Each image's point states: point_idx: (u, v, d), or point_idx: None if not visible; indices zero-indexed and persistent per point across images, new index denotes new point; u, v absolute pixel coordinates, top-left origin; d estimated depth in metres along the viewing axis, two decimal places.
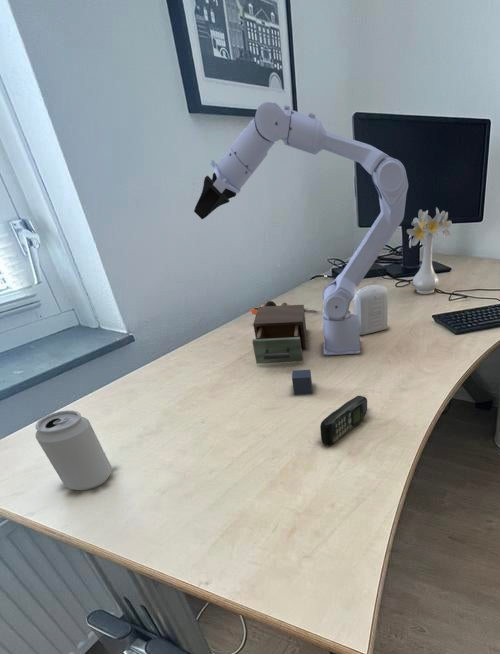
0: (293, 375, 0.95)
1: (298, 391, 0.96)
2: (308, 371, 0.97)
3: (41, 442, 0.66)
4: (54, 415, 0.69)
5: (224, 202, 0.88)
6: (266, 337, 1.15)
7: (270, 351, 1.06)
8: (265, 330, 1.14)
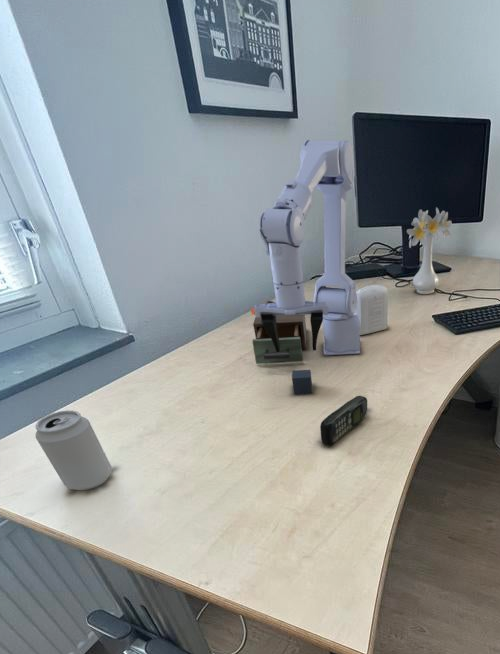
0: (293, 375, 0.95)
1: (298, 391, 0.96)
2: (308, 371, 0.97)
3: (41, 442, 0.66)
4: (54, 415, 0.69)
5: None
6: (266, 337, 1.15)
7: (270, 351, 1.06)
8: (265, 330, 1.14)
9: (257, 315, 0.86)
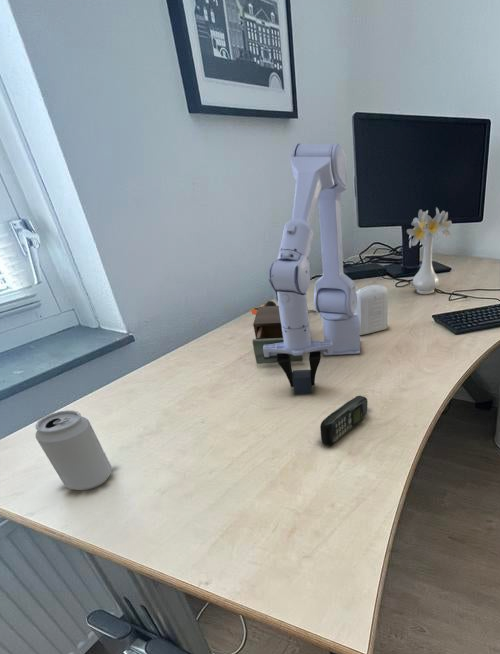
0: (293, 375, 0.95)
1: (298, 391, 0.96)
2: (308, 371, 0.97)
3: (41, 442, 0.66)
4: (54, 415, 0.69)
5: None
6: (266, 337, 1.15)
7: None
8: (265, 330, 1.14)
9: (266, 355, 0.91)
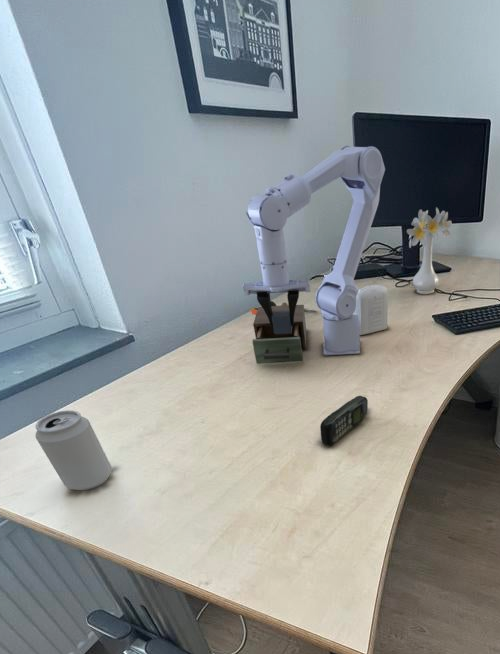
0: (272, 315, 0.99)
1: (278, 330, 1.00)
2: (288, 311, 1.01)
3: (41, 442, 0.66)
4: (54, 415, 0.69)
5: None
6: (266, 337, 1.15)
7: (270, 351, 1.06)
8: (265, 330, 1.14)
9: (246, 293, 0.95)
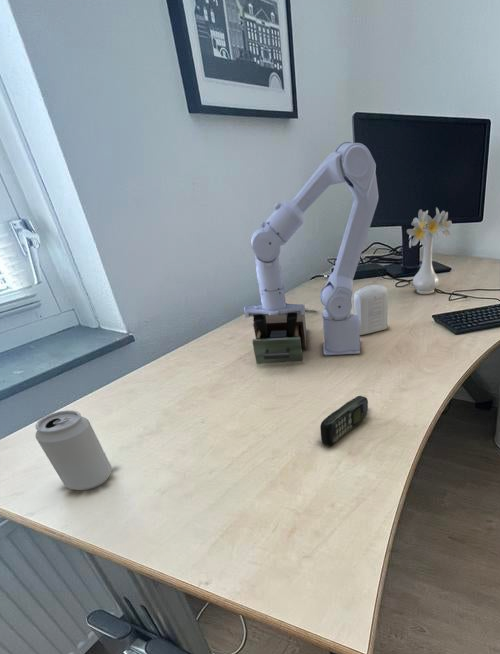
0: (270, 335, 1.08)
1: None
2: (284, 331, 1.10)
3: (41, 442, 0.66)
4: (54, 415, 0.69)
5: None
6: None
7: (270, 351, 1.06)
8: None
9: (246, 316, 1.05)
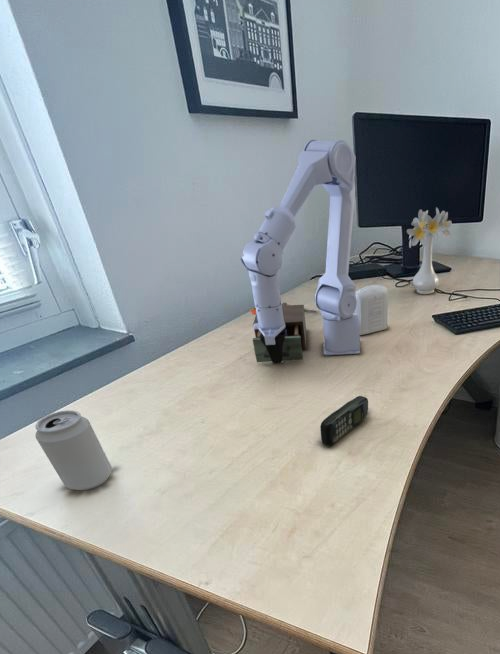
0: None
1: None
2: None
3: (41, 442, 0.66)
4: (54, 415, 0.69)
5: (283, 340, 0.97)
6: None
7: None
8: None
9: None
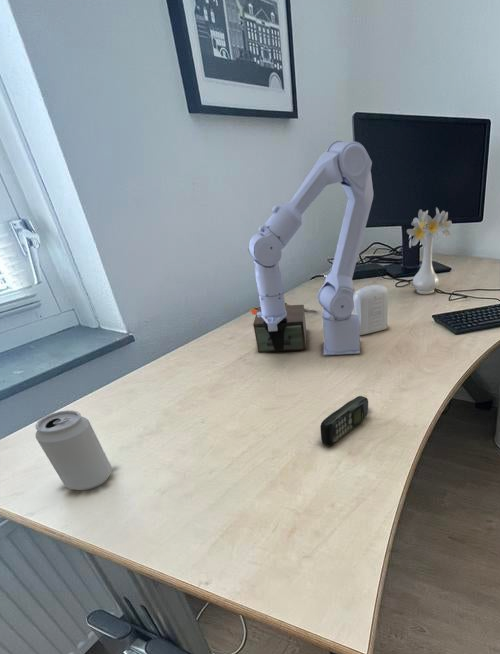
0: None
1: None
2: None
3: (41, 442, 0.66)
4: (54, 415, 0.69)
5: (284, 327, 1.04)
6: None
7: None
8: None
9: None
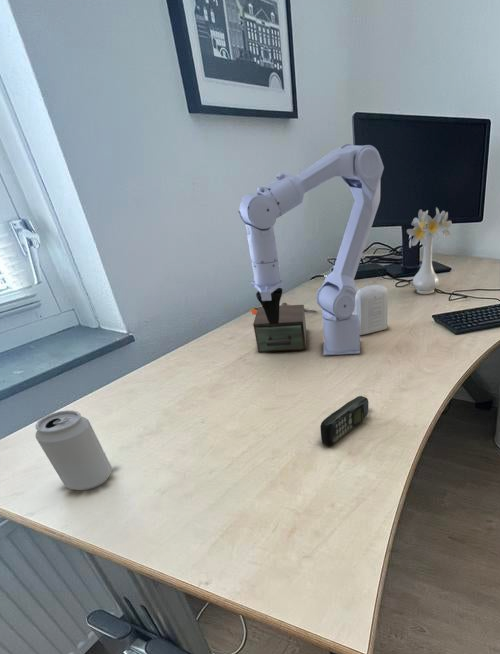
0: None
1: None
2: None
3: (41, 442, 0.66)
4: (54, 415, 0.69)
5: (279, 298, 0.97)
6: (268, 326, 1.21)
7: (272, 339, 1.12)
8: None
9: None
